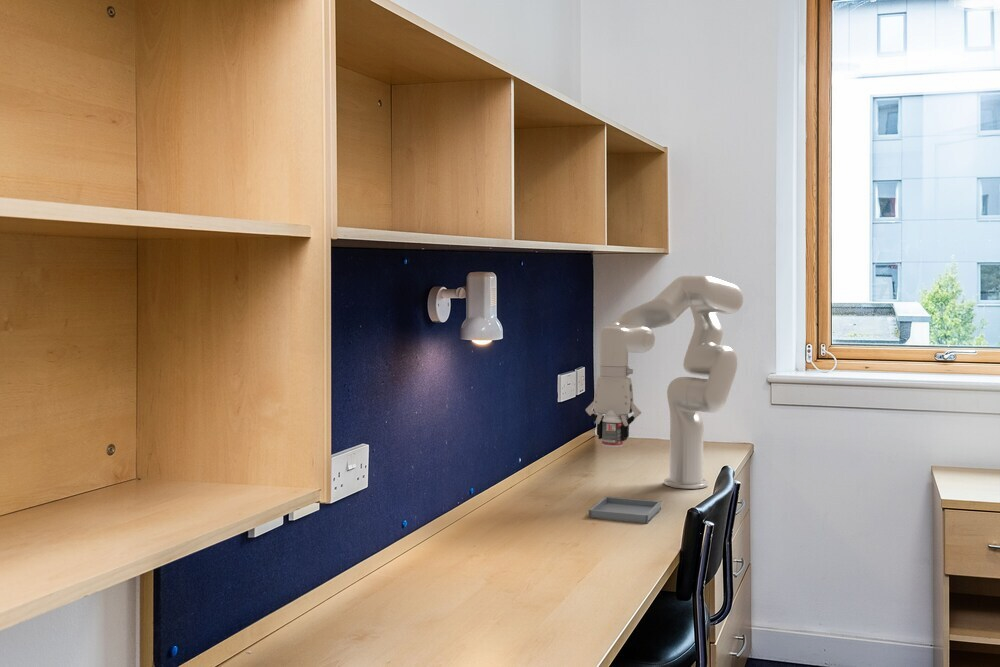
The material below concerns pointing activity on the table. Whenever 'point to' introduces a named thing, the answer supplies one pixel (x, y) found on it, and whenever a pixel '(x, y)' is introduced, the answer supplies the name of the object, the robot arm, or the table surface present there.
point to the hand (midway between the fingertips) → (612, 438)
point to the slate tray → (625, 509)
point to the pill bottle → (612, 430)
